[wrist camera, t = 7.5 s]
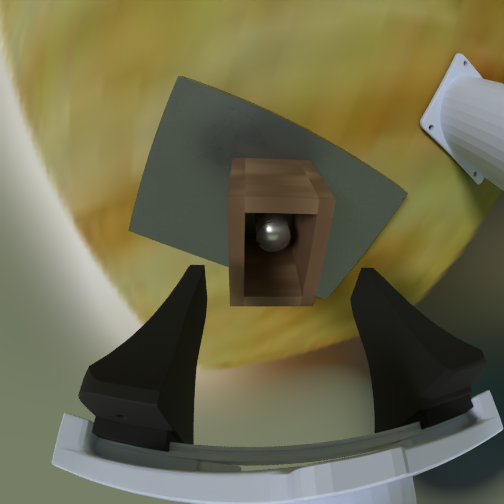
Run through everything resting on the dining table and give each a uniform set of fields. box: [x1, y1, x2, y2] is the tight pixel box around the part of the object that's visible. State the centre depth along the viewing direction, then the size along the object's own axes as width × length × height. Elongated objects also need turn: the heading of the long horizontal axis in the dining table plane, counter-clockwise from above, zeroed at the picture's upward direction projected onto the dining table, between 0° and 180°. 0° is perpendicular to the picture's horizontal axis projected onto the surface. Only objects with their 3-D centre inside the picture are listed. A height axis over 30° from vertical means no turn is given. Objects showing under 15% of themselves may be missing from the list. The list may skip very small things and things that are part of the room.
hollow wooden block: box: [227, 158, 336, 306], centre depth 17 cm, size 5×7×6 cm
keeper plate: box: [129, 76, 408, 300], centre depth 18 cm, size 18×12×5 cm, turn 65°
